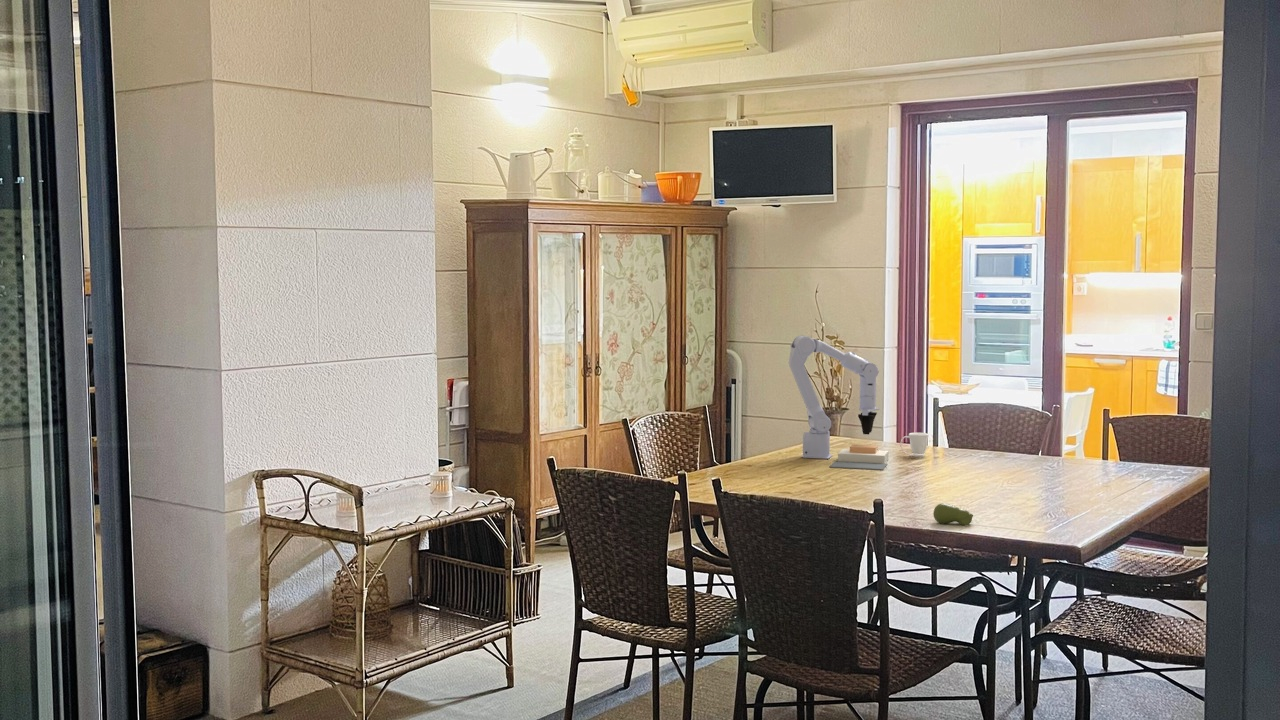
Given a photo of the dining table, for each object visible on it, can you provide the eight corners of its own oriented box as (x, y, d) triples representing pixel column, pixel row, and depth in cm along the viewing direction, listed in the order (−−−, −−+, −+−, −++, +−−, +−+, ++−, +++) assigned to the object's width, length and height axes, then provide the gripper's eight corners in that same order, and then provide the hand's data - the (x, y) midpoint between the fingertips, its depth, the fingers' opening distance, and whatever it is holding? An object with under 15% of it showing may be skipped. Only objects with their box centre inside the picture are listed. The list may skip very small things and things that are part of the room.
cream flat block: (837, 462, 407) (838, 453, 407) (843, 457, 418) (843, 448, 418) (884, 464, 402) (884, 455, 402) (888, 459, 413) (888, 450, 413)
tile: (849, 452, 409) (849, 446, 409) (852, 450, 415) (852, 444, 415) (875, 453, 407) (875, 447, 406) (877, 451, 412) (877, 445, 412)
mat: (829, 467, 395) (829, 466, 395) (834, 462, 407) (834, 461, 407) (883, 470, 390) (883, 469, 390) (887, 464, 401) (887, 463, 401)
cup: (929, 457, 417) (929, 435, 416) (900, 457, 419) (900, 434, 418) (927, 454, 424) (928, 432, 423) (899, 454, 425) (899, 432, 425)
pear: (935, 499, 309) (974, 508, 306) (931, 519, 310) (970, 527, 307) (935, 503, 304) (974, 511, 301) (931, 523, 304) (970, 531, 302)
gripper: (876, 398, 410) (876, 436, 411) (881, 394, 424) (880, 431, 425) (856, 397, 412) (855, 435, 413) (861, 393, 426) (861, 430, 427)
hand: (867, 433), depth 419 cm, fingers open, 5 cm apart
